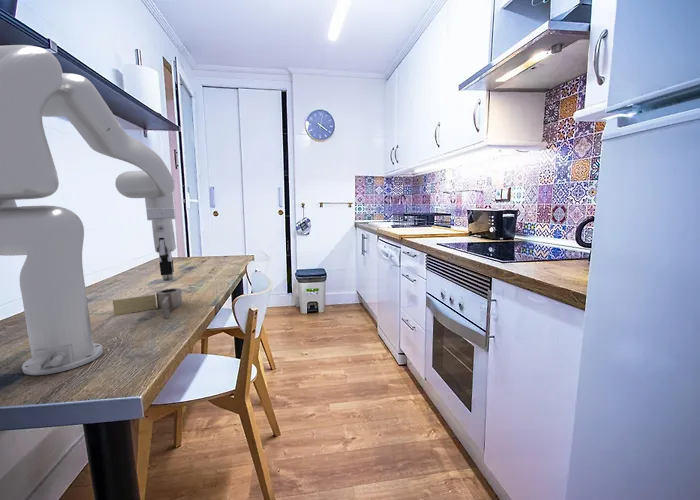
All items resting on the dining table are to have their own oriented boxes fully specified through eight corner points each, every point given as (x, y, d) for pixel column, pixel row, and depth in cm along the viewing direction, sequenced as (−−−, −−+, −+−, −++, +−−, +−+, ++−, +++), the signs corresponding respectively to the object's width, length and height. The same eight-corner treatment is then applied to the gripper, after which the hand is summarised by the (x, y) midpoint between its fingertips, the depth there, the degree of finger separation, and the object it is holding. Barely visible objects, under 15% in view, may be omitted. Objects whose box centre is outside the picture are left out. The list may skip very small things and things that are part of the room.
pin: (174, 280, 103) (170, 242, 102) (160, 281, 102) (156, 243, 100) (175, 277, 107) (171, 241, 105) (162, 279, 105) (157, 242, 104)
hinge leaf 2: (179, 316, 94) (177, 299, 94) (151, 320, 92) (149, 303, 91) (183, 302, 110) (181, 287, 109) (159, 304, 107) (158, 289, 106)
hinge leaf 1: (156, 308, 104) (155, 294, 103) (156, 308, 103) (155, 294, 102) (114, 314, 98) (112, 300, 97) (114, 315, 97) (112, 300, 97)
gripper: (172, 215, 95) (178, 277, 98) (177, 214, 110) (182, 268, 113) (142, 216, 93) (149, 280, 95) (151, 215, 107) (157, 270, 110)
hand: (167, 273), depth 104 cm, fingers closed on pin, 3 cm apart
